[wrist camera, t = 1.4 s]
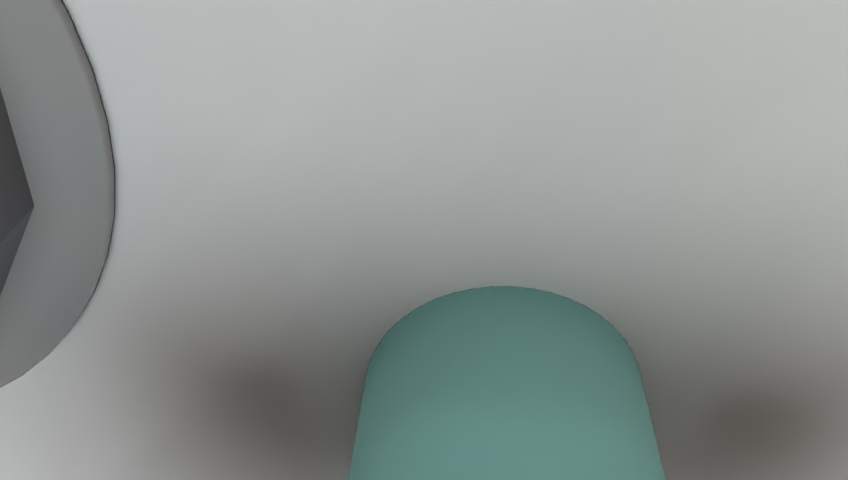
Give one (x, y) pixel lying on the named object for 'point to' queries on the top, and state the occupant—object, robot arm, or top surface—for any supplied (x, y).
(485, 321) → the teal capped cylinder
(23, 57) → the ring
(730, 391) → the top surface
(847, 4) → the top surface
